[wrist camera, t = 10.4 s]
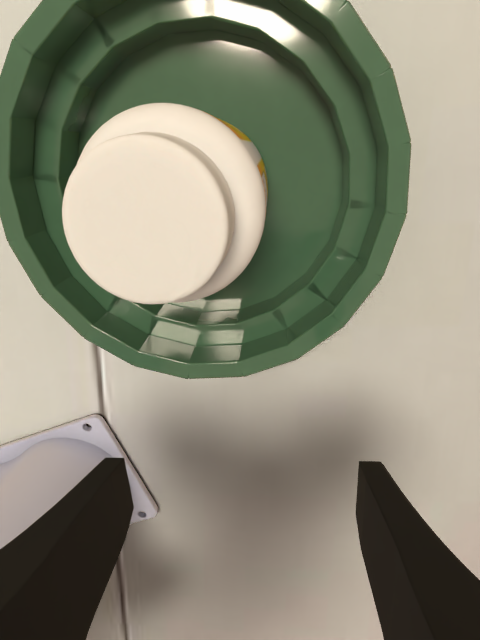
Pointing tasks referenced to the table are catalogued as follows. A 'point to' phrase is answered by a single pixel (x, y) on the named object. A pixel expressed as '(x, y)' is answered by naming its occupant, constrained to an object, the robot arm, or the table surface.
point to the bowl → (249, 117)
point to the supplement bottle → (165, 204)
